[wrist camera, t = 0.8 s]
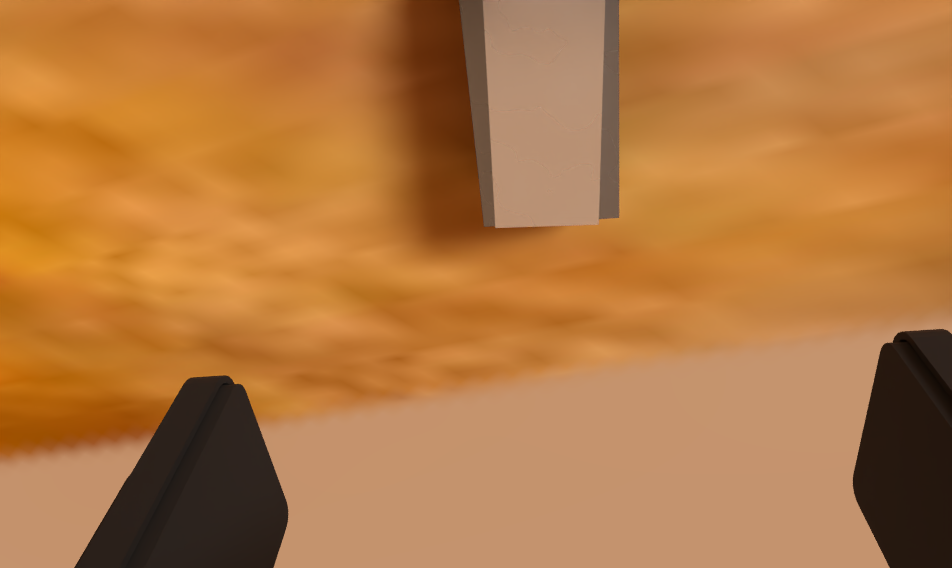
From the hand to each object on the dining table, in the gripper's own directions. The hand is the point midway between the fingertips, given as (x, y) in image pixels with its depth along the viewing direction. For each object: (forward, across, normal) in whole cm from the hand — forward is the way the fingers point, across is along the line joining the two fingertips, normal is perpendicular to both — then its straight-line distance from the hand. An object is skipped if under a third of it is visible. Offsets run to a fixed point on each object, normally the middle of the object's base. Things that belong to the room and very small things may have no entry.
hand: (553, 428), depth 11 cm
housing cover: (+16, 0, 0) cm, 16 cm away
